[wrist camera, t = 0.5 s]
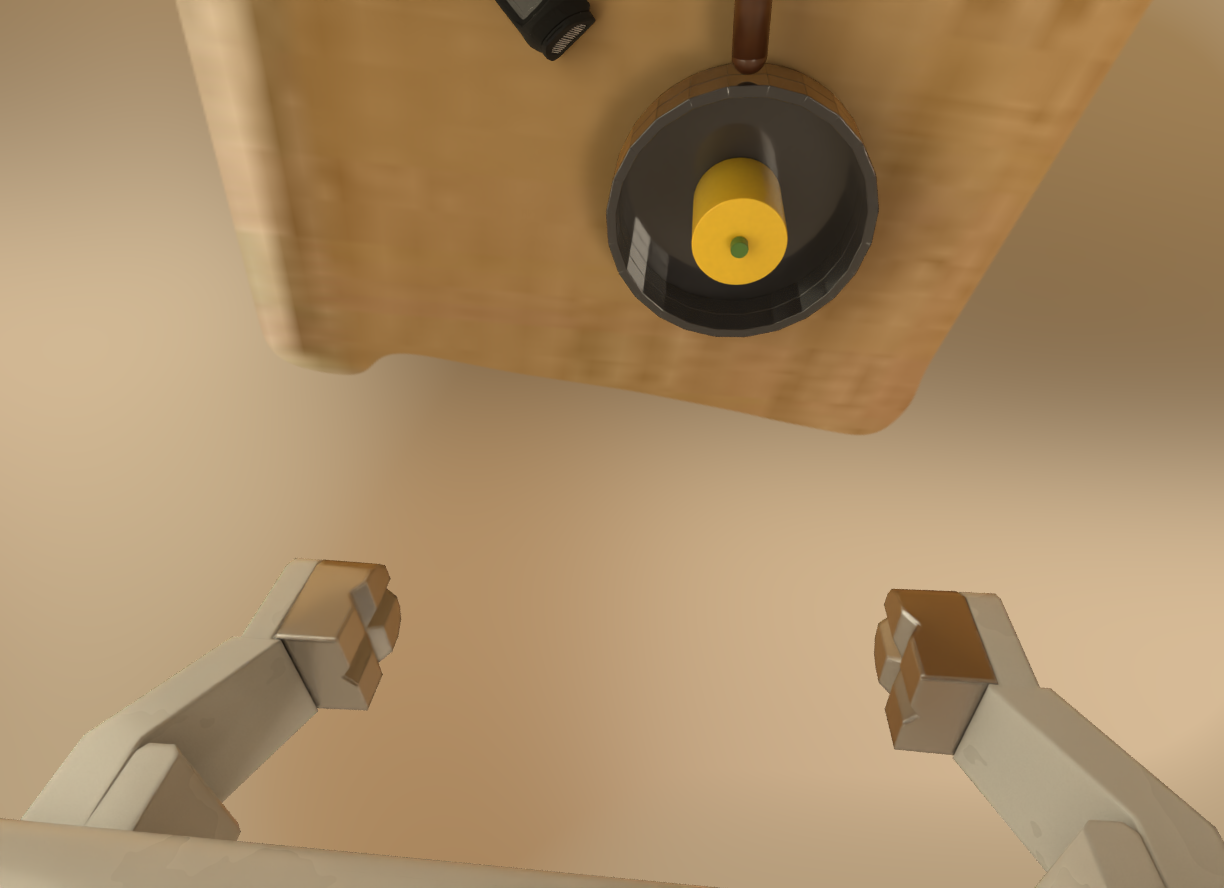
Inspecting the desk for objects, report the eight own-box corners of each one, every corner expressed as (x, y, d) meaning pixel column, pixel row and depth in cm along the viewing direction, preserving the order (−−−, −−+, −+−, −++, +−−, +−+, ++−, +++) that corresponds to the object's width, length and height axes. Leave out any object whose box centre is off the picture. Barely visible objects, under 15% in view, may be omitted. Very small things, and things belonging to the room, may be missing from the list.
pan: (605, 66, 39) (597, 89, 36) (892, 57, 38) (907, 81, 35) (619, 303, 50) (614, 335, 47) (842, 305, 48) (851, 338, 46)
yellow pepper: (694, 157, 42) (692, 205, 38) (785, 156, 41) (794, 204, 37) (692, 239, 46) (690, 292, 41) (776, 239, 45) (783, 292, 41)
